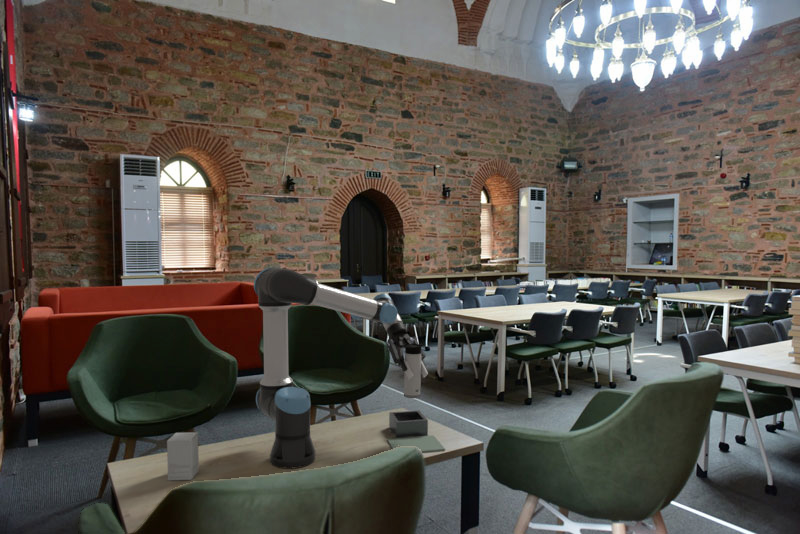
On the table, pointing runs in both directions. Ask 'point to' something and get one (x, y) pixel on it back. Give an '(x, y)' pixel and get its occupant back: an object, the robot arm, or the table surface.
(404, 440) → the mat
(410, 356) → the travel mug
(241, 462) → the table surface
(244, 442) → the table surface
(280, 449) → the robot arm
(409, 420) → the sleeve
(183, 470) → the supplement box
